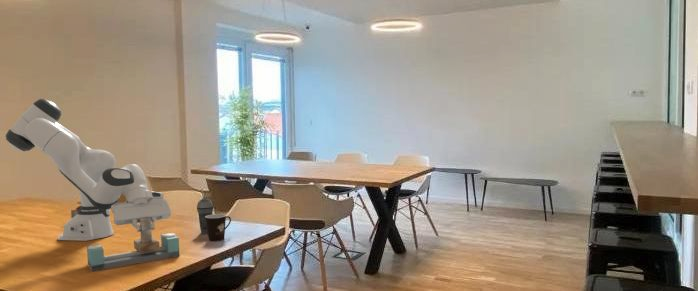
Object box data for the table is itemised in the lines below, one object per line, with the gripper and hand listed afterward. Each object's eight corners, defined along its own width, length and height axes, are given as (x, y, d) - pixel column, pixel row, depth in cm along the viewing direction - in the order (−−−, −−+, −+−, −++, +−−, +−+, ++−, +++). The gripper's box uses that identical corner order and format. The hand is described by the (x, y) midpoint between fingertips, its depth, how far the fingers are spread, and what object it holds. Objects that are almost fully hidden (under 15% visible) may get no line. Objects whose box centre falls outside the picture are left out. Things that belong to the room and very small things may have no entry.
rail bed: (91, 271, 177) (90, 250, 176) (87, 264, 185) (86, 244, 185) (180, 255, 194) (179, 236, 194) (172, 250, 202) (171, 231, 202)
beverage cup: (209, 234, 227) (207, 190, 225) (194, 234, 228) (192, 189, 227) (217, 230, 234) (215, 187, 232) (202, 230, 235) (200, 187, 234)
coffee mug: (208, 242, 213) (207, 219, 212) (204, 238, 220) (203, 215, 220) (236, 239, 218) (235, 215, 217) (231, 234, 226) (230, 212, 225)
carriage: (139, 253, 186) (138, 222, 185) (134, 247, 194) (132, 218, 193) (159, 249, 190) (158, 219, 189) (153, 244, 198) (152, 215, 197)
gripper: (110, 198, 190) (117, 229, 183) (167, 192, 202) (175, 221, 194) (109, 208, 194) (115, 239, 187) (164, 202, 206) (172, 230, 198)
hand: (146, 229), depth 191 cm, fingers closed on carriage, 3 cm apart
